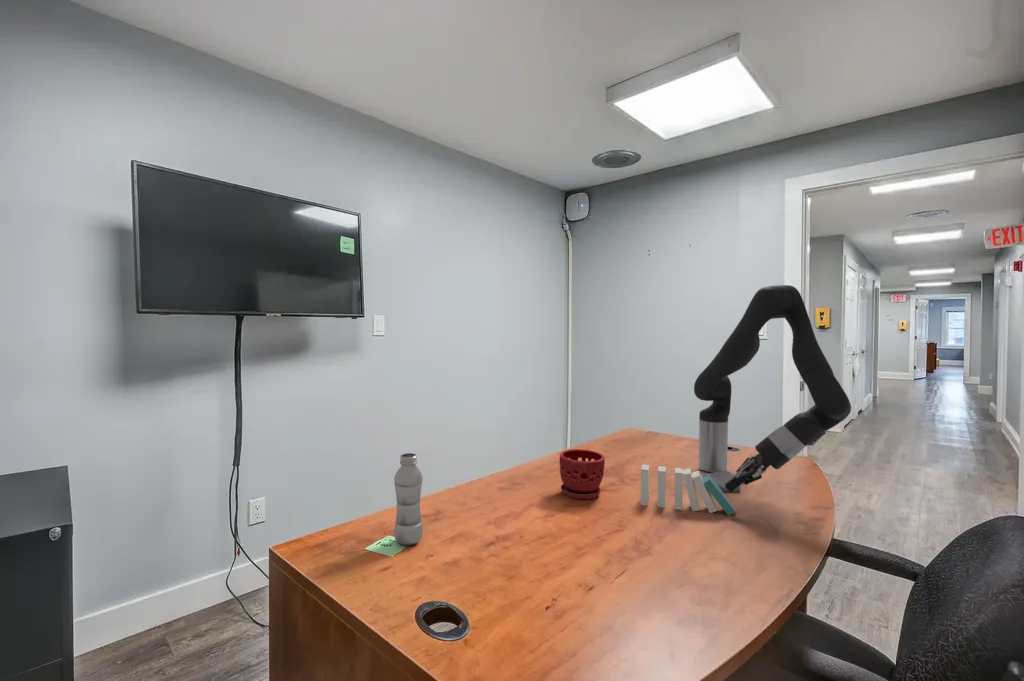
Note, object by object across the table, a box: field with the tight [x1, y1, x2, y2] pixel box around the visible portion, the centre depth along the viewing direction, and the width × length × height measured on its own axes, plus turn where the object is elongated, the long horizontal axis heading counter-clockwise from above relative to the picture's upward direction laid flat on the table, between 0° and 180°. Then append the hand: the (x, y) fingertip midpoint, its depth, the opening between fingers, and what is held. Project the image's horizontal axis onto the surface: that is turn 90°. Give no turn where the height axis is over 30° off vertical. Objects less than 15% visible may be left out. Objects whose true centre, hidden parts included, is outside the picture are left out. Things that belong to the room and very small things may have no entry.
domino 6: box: [703, 474, 736, 516], centre depth 131 cm, size 2×5×10 cm
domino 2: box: [656, 465, 667, 509], centre depth 135 cm, size 2×5×10 cm, turn 161°
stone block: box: [699, 470, 741, 493], centre depth 151 cm, size 12×5×10 cm
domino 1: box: [639, 464, 650, 507], centre depth 137 cm, size 2×5×10 cm, turn 161°
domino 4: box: [683, 468, 701, 512], centre depth 133 cm, size 2×5×10 cm, turn 161°
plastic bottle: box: [393, 452, 424, 546], centre depth 111 cm, size 6×7×20 cm
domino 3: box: [674, 467, 684, 511], centre depth 134 cm, size 2×5×10 cm, turn 161°
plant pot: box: [559, 448, 606, 500], centre depth 143 cm, size 13×13×12 cm
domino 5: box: [692, 470, 718, 514], centre depth 132 cm, size 2×5×10 cm, turn 161°
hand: (727, 488), depth 130 cm, fingers closed
